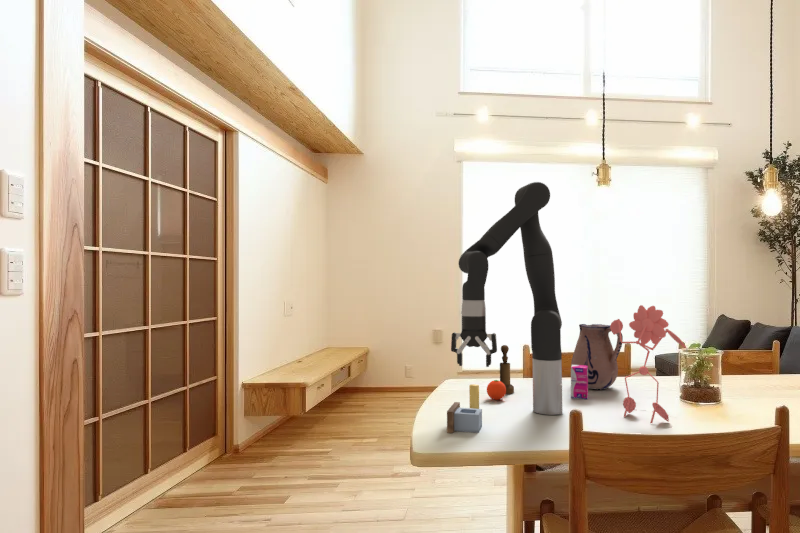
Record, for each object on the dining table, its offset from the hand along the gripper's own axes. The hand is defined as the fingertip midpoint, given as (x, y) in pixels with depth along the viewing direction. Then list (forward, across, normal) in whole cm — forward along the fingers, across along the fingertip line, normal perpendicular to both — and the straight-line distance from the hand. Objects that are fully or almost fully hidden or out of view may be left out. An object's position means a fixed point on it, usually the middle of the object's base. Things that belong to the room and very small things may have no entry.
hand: (474, 366), depth 166 cm
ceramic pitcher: (+16, -41, -57) cm, 72 cm away
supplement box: (+16, -33, -38) cm, 53 cm away
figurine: (+16, -53, -14) cm, 57 cm away
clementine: (+16, -4, -27) cm, 32 cm away
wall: (+16, +4, +13) cm, 21 cm away
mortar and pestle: (+16, -6, -40) cm, 44 cm away
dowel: (+16, 0, 0) cm, 16 cm away
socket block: (+16, 0, +13) cm, 21 cm away
